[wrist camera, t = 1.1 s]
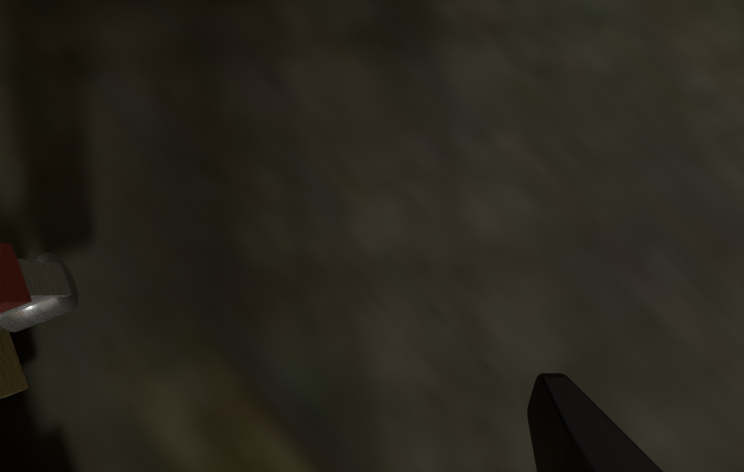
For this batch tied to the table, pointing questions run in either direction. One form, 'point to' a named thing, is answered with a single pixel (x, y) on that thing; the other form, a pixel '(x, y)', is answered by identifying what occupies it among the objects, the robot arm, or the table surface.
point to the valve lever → (33, 289)
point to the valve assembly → (10, 367)
